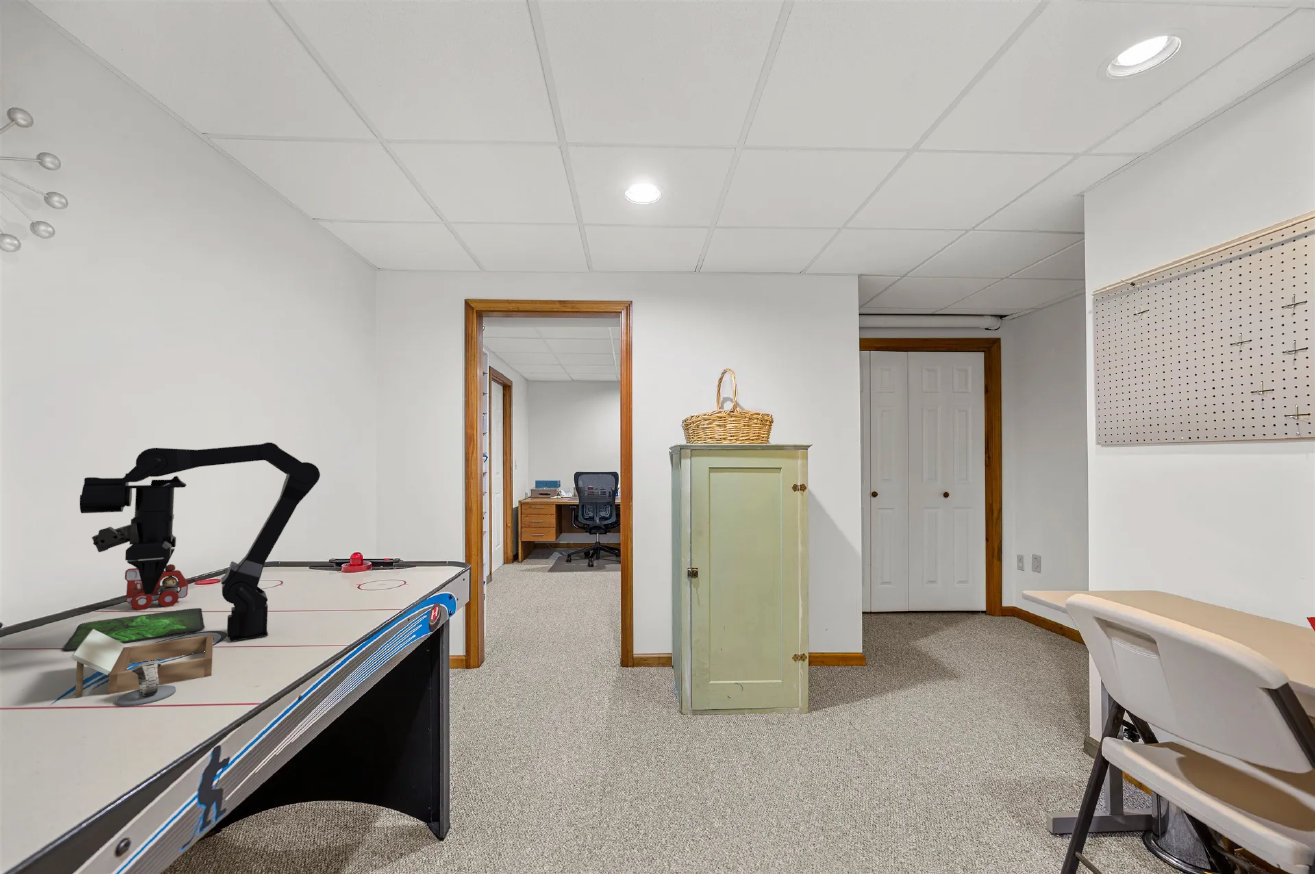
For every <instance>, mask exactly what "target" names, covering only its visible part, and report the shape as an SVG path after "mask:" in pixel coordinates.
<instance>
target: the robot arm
mask: <svg viewBox="0 0 1315 874" xmlns="http://www.w3.org/2000/svg"><path fill="white" fill-rule="evenodd" d="M257 461H258V462H259V461H266V462H267V463H269V465H272V466H273V467H275V468H276V469H278V470H279V471H281V472H282V473H283V474H285V479H284V482H283V484H282V489H281V491H280V494H279V497H278V499H277V501H276V503H275V505H274V506H273V508H272V509H271V512H270V513H269V515H268V517H267V518H266V519H265V522H264V523H263V526H262V527H261V528H260V530H259V532H258V534H257V536H256V537H255V539H254V541H253V543H252V544H251V545H250V547H249V549H248V551H247V553H246V555H244V557H243V558H242V559H241V560H240V561H239V562H238V563H237V562H235V561H233V560H232V561H231V562H230V564H229V567H228V569H227V571H226V573H225V574H224V575H223V576H222V577H221V578H220V583H221V595H222V597H223V600H225V601H226V602H227V603H229V604H233V606H232V607H230V608H231V612H230V614H228V615H227V620H226V621H227V623H226V625H227V626H226V637H227V638H229V642H238V641H244V640H251V639H255V638H263V637H267V636H269V631H268V616H269V615H268V612H269V606H268V600H269V599H268V596H267V594H266V591H265V590H263V589H262V588H261V587H259V586H258V585H259V582H260V581H261V576H262V573H263V569H264V566H265V563H266V561H267V560H268V557H269V556H270V554H271V552H272V550H273V548H274V547H275V545H276V543H277V542H278V540H279V538H280V536H281V534H282V533H283V531H284V529H285V527H286V526H287V524H288V523H289V520H290V518H291V517H292V515H293V513H294V512H295V510H296V508H297V506H298V505H299V504H300V503H301V501H302V500H303V499H304V498H305V497H306V496H307V495H308V494H309V492H311V490H312V489H313V488H314V487H315V485H316V484H317V483H318V482H319V480H320V477H321V473H320V470H319V468H318V467H317V466H316V465H315V464H314V463H311V462H308V461H307V462H305V461H304V462H302V461H301V460H299V459H298V458H296V457H295V456H293V455H291V454H289V452H286V451H285V450H283V449H282V448H280V447H279V445H277V444H276V443H273V442H268V441H267V442H264V443H259V444H249V445H237V446H226V447H225V446H224V447H214V448H202V449H185V448H167V447H166V448H165V447H151V448H146V449H144V450H143V451H141V453H139V454H138V456H137V457H136V460H135V466H134V467H133V468H132V469H131V470H129V472H128V473H125V475H124V476H123V477H121V478H120V477H97V476H94V477H93V476H92V477H91V476H89V477H88V476H87V477H85V478H83V479H84V480H83V485H82V491H81V494H80V495H79V511H80V513H81V514H96V513H98V514H100V513H101V514H102V513H123V511H124V508H126V507H131V506H132V501H133V499H132V498H133V489H135V503H134V516H133V517H132V518H130V524H127V525H124V526H120V527H117V528H113V527H112V526H108V527H106V528H102V529H99V530H98V532H97V533H98V534H96V535H93V536H92V537H91V539H92V541H93V543H92V544H93V546H95V548H96V550H97V552H98V553H102V552H106V551H108V550H109V549H111V548H115V547H117V546H120V545H124V544H126V543H129V545H130V546H129V547H127V548H126V549H125V561H126V563H127V564H129V565H131V566H133V568H137V569H138V571H139V575H140V578H141V582H142V586H143V590H144V594H145V595H147V594H152V593H153V591H154V589H155V587H156V585H157V584H158V582H159V580H160V578H161V576H162V574H163V572H164V571H165V568H166V566H167V565H169V564H168V563H169V562H170V559H171V558H172V555H173V553H174V552H175V550H176V549H175V548H176V546H177V536H175V535H174V533H173V526H174V525H173V524H174V519H175V518H174V517H175V514H174V506H175V505H174V502H175V501H174V499H175V489H176V488H181V489H183V488H186V487H187V484H186V482H184V481H182V480H181V478H179V476H178V475H175V476H173V478H171V479H152V480H151V481H150V484H140V485H139V484H138V485H135V484H134V485H133V484H132V485H131V484H129V483H138V482H142V481H143V480H146V479H148V478H149V477H150V478H153V477H154V478H158V477H163V476H167V475H171V474H175V473H180V472H183V471H188V470H191V469H194V468H195V469H196V468H199V467H200V468H201V467H209V466H219V465H229V464H230V465H231V464H236V463H237V464H239V463H250V462H257Z"/></svg>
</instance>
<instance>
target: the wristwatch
mask: <svg viewBox="0 0 1315 874" xmlns="http://www.w3.org/2000/svg"><path fill="white" fill-rule="evenodd" d="M161 665H162V662H161V661H159V660H154V661H148V662H141V663H139V664H138V665H136V666H134V668H133V669H131V670H132V672H134V673H136V674H137V675H138V681H139V691H140V694H141V696H143V697H145V696H149V695H153V694H156V693H157V691H158V686H160V685H159V679H158V673H157V668H158V667H160V666H161Z"/></svg>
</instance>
